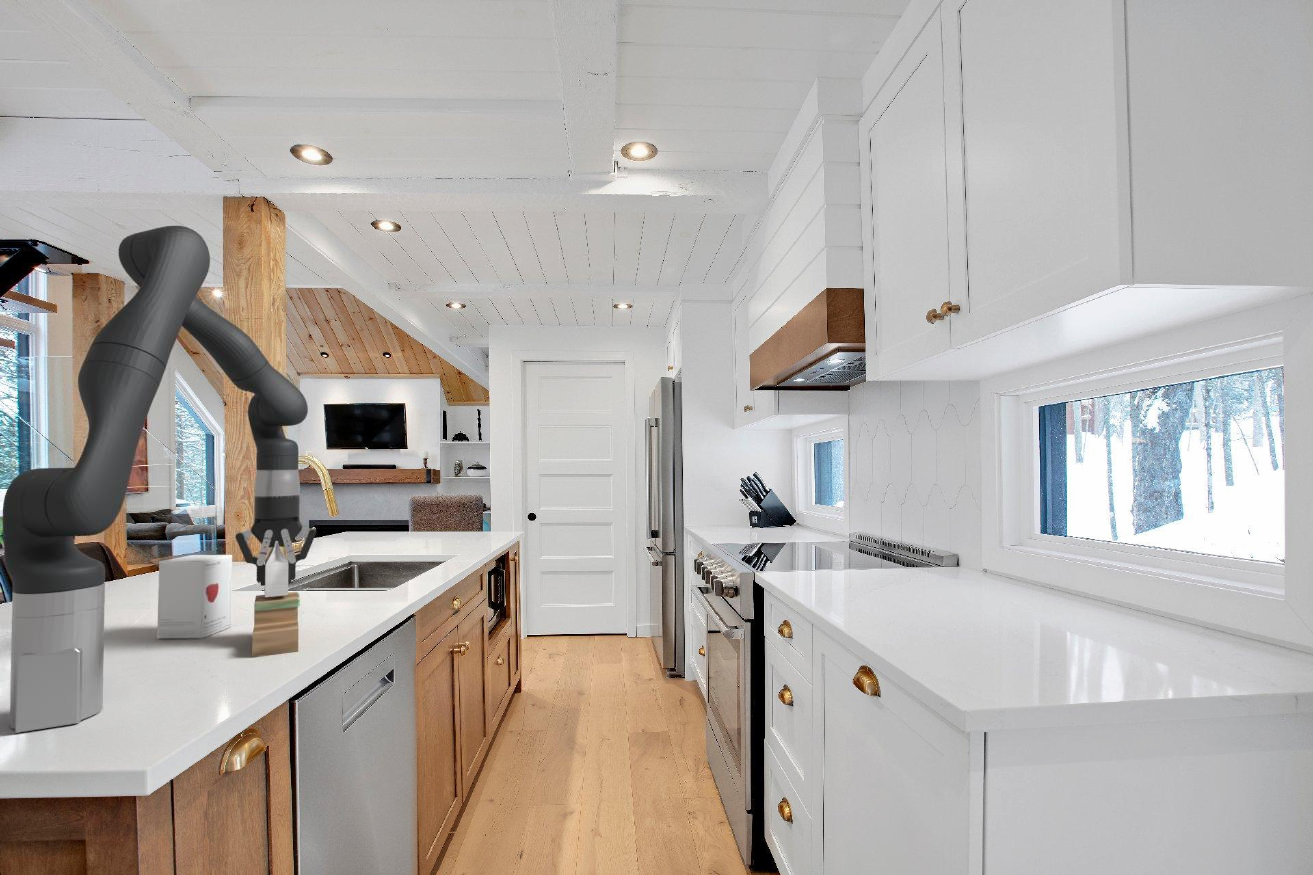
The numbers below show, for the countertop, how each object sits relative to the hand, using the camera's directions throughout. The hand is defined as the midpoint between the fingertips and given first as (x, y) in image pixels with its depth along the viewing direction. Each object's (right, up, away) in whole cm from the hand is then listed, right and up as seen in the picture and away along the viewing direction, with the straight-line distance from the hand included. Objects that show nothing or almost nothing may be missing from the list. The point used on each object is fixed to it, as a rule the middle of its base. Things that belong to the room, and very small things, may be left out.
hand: (276, 583), depth 126 cm
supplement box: (-19, -11, +5) cm, 23 cm away
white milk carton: (0, -2, 0) cm, 2 cm away
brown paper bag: (+2, -11, -4) cm, 11 cm away
